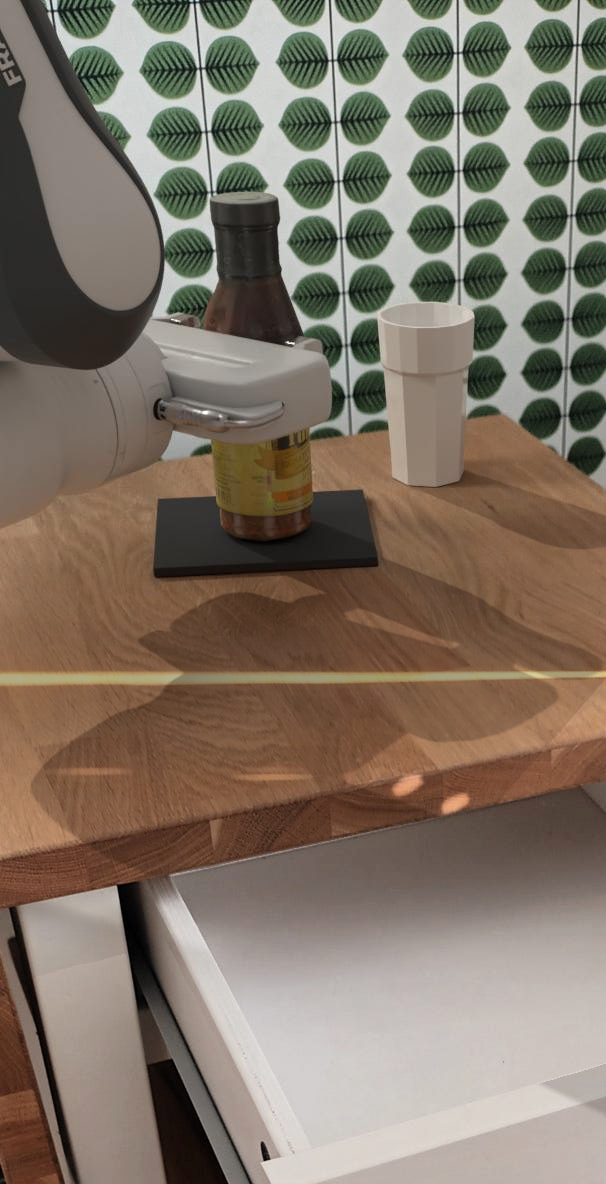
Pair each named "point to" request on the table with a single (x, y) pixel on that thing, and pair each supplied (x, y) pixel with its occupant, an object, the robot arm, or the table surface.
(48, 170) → the robot arm
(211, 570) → the mat
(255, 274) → the sauce bottle
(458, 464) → the cup
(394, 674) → the table surface
